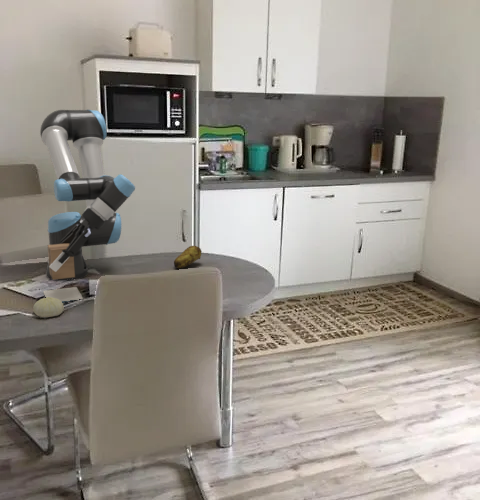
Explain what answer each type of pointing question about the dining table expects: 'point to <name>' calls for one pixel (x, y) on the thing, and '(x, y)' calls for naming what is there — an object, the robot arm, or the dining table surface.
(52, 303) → the sea urchin shell
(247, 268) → the dining table surface
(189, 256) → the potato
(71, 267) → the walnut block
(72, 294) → the tile
